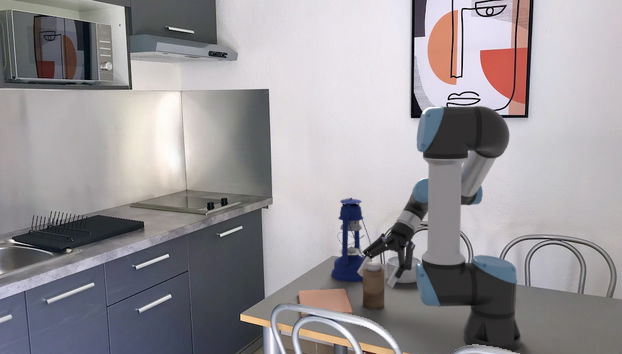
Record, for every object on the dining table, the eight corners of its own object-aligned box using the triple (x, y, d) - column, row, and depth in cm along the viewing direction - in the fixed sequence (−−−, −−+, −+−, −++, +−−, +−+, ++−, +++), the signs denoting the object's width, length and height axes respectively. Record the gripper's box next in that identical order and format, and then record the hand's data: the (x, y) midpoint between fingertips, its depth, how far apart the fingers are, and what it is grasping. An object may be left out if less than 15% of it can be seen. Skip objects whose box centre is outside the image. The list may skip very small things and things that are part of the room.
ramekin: (424, 285, 192) (424, 266, 190) (387, 284, 192) (387, 266, 191) (419, 272, 205) (419, 255, 203) (385, 272, 205) (385, 255, 204)
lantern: (340, 266, 214) (339, 192, 209) (376, 270, 208) (376, 195, 203) (324, 280, 198) (323, 201, 194) (363, 284, 192) (363, 203, 188)
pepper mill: (386, 309, 171) (386, 267, 168) (364, 310, 170) (364, 268, 168) (382, 300, 177) (382, 260, 175) (361, 301, 177) (361, 261, 175)
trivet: (352, 316, 165) (352, 311, 165) (301, 318, 164) (301, 314, 164) (344, 292, 185) (344, 288, 185) (298, 294, 184) (298, 290, 184)
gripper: (440, 240, 173) (408, 296, 166) (384, 226, 192) (354, 275, 185) (429, 227, 169) (397, 284, 162) (373, 214, 188) (342, 264, 181)
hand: (374, 279), depth 174 cm, fingers open, 13 cm apart
